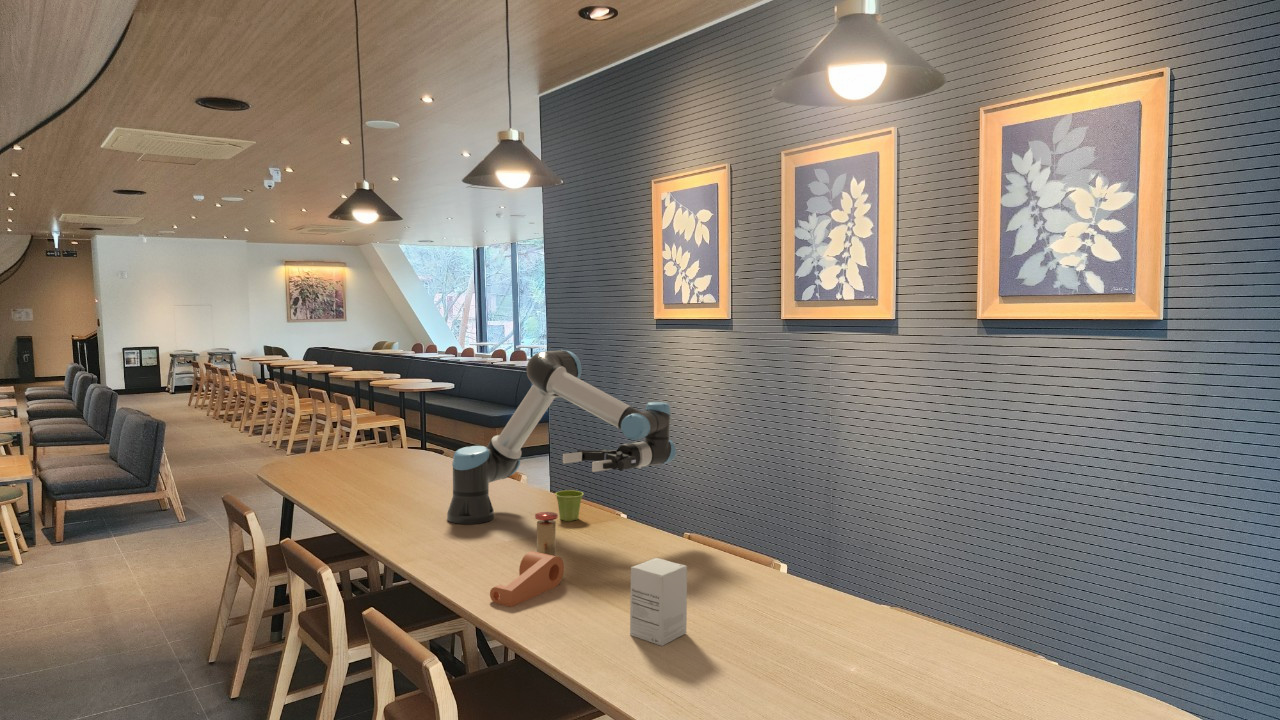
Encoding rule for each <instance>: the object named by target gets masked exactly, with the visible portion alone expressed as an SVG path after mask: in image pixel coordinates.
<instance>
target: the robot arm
mask: <svg viewBox="0 0 1280 720" xmlns="http://www.w3.org/2000/svg"><path fill="white" fill-rule="evenodd" d="M582 371H583V368H582V363H581V361H580V359H579V357H578V356H577V355H576V354H575V352H572V351H570V350H564V349H560V350H547V351H539V352H537V353H535V354H534V355H532V356H531V357H530V359H529V360H528V362H527V364H526V376H527V378H528V380H529V381H530V383H531V384H532V385H531V386H530V389H529V390H528V391H527V393H526V395H524V398H523V399H522V401H521V402H520V404H519V405H518V406H517V408H516V410H514V413H513V414H512V415H511V417H510V418H509V420H508V421H507V423H506V425H505V426H504V428H503V429H502V430H501V433H500V434H498V435H493V437H492V438H491V439H490V441H489V443H488V444H487V445H486V446H483V445H472V446H471V445H470V446H465V447H461V448H458V449H457V450H455V452H454V454H453V458H452V459H453V460H452V498H451V501H450V504H449V506H448V510H447V515H446V516H447V518H446V519H447V520H446V521H448V522H450V523H453V524H460V525H474V524H482V523H486V522H490V521H492V520H493V519H494V518H495V517H494V515H495V514H494V513H495V511H494V508H493V504H492V502H491V499H490V495H489V491H490V489H489V488H490V487H489V486H490V483H493V482H497V481H500V480H504V479H507V478H509V477H510V476H513V475H514V474H515V473H516V472H517V471H518V470H519V467H520V466H521V465H520V464H521V460H520V459H521V457H522V447H523V446H524V444H525V443H526V441H527V440H528V439H529V436H530V435H531V434H532V433H533V430H535V428H536V426H538V425H537V424H538V423H539V422H540V421H541V420H542V418H543V416H544V415H545V413H546V412H547V410H548V408H549V407H550V405H551V404H552V403H553V402H554V400H555V399H556V398H562V399H564V400H566V401H568V402H570V403H571V404H573V405H575V406H578V407H579V408H581V409H583V410H585V411H587V412H588V413H590V414H592V415H593V416H595V417H597V418H599V419H601V420H603V421H604V422H606V423H608V424H611V426H614V427H616V428H617V429H619V430H621V433H622V435H624V437H625V438H627V439H629V440H633V441H635V440H637V441H638V440H643V439H644V441H638V442H632V443H630V442H629V443H623V444H620V445H619V446H618V447H617V449H612V450H609V449H607V448H606V449H588V450H587V449H585V450H584V449H581V450H580V449H578V450H576V451H577V452H568V453H562V464H572V463H582V461H592V463H591V466H592V467H591V472H593V473H595V472H596V473H597V472H601V471H602V472H603V471H609V470H614V471H615V470H618V471H620V472H621V471H624V470H629V469H635V468H638V470H639V469H640V470H642V468H643V467H649V466H657V465H660V466H661V465H665V464H668V463H672V461H673V460H675V458H676V456H677V455H676V454H677V448H676V447H675V443H674V442H673V440H670V438H669V436H670V421H671V407H670V404H669V403H667V402H662V401H650V402H649V401H648V402H647V403H646V406H645V410H644V411H640V410H638V409H636V408H634V407H632V406H631V405H629V404H627V403H625V402H623V401H622V400H620V399H618V398H616V397H614V396H613V395H610V394H608V393H607V392H605V391H603V390H601V389H599V388H597V387H596V386H593V385H591V384H590V383H588V382H586V381H584V380H582V379H580V378H581V376H582Z"/></svg>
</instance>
